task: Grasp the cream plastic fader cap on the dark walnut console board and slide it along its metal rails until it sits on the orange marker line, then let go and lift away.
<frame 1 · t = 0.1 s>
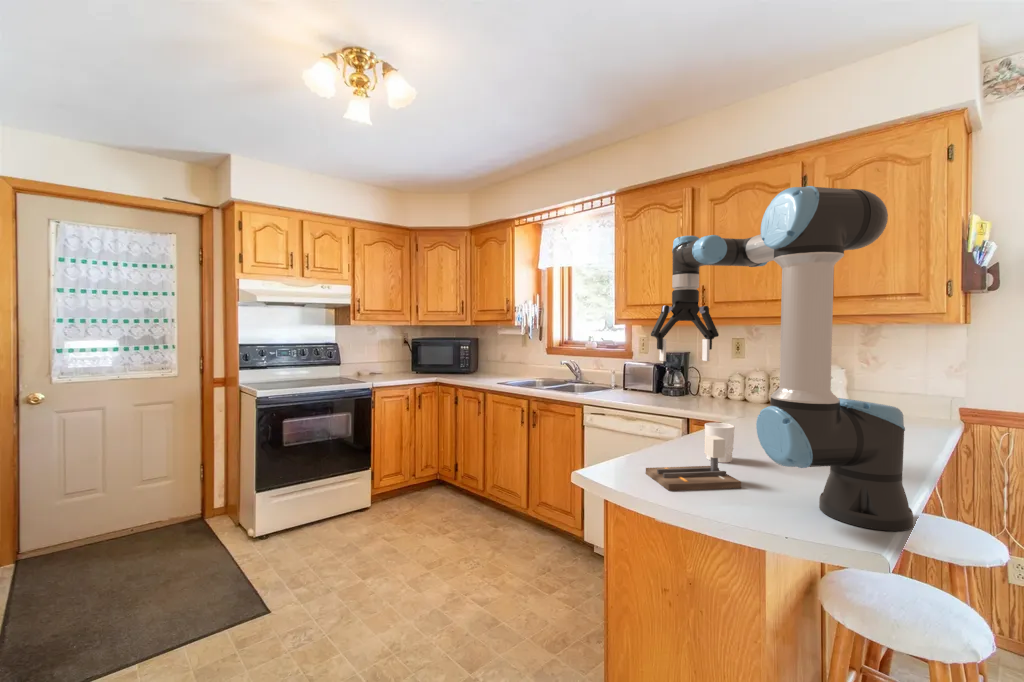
hand: (684, 360, 142), 28 cm above the countertop, fingers open, 13 cm apart
console board: (691, 480, 117), on the countertop
fader: (714, 454, 118), point 6 cm above the countertop, slide at 0.0 cm
white cup: (718, 460, 136), on the countertop
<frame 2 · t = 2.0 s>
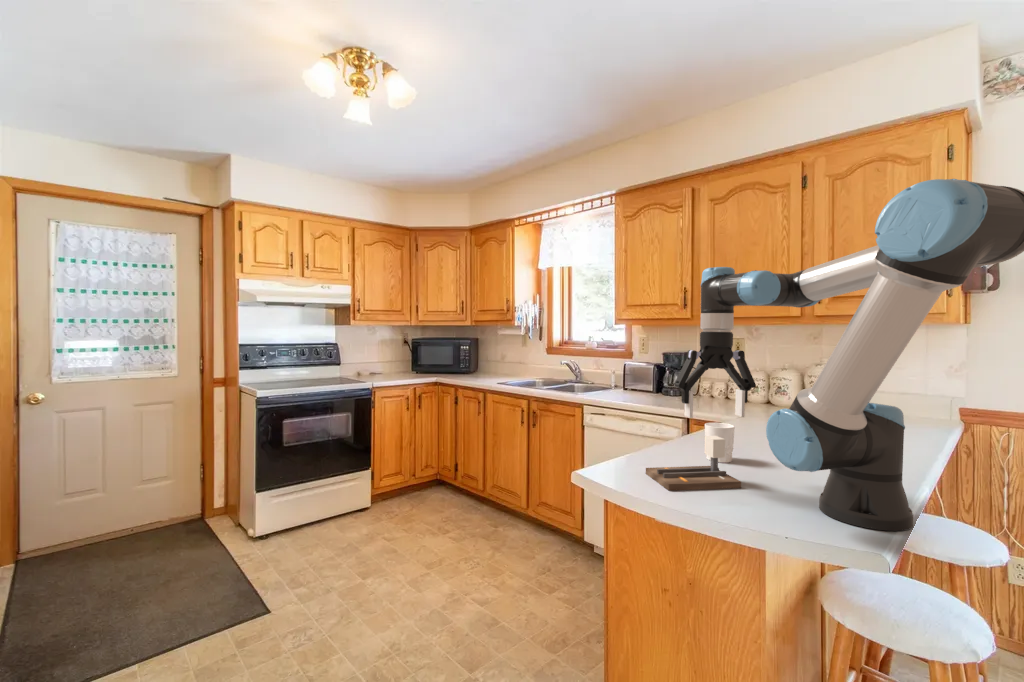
hand: (714, 416, 118), 16 cm above the countertop, fingers open, 13 cm apart
nothing on the countertop moved.
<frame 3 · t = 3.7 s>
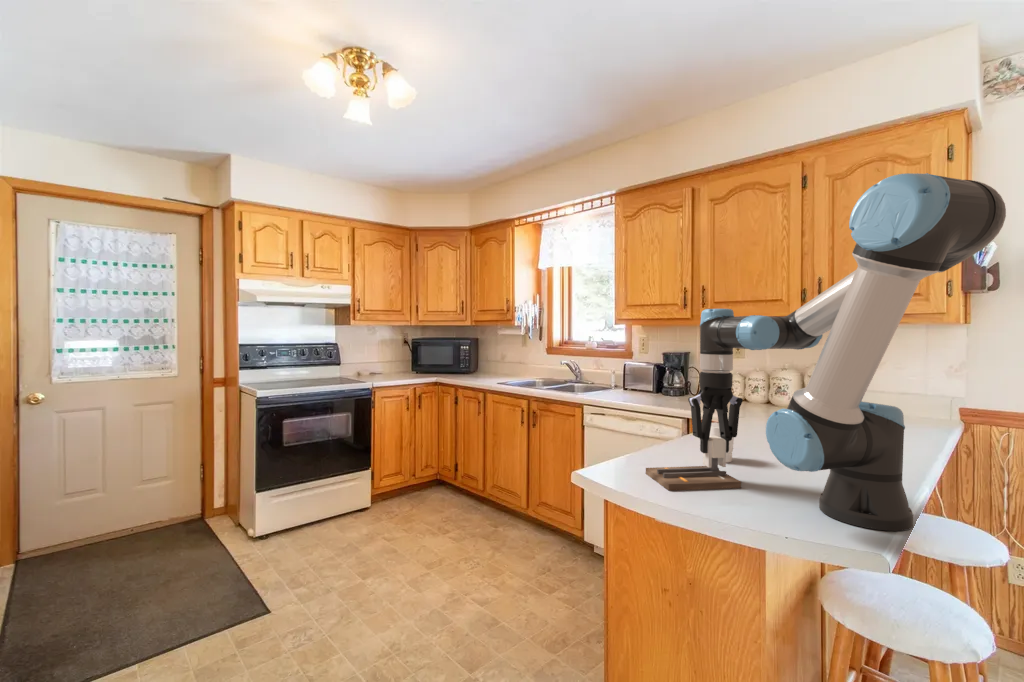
hand: (714, 465, 118), 4 cm above the countertop, fingers closed on fader, 3 cm apart
fader: (714, 454, 118), point 6 cm above the countertop, slide at 0.0 cm, touching gripper
everything else where it was.
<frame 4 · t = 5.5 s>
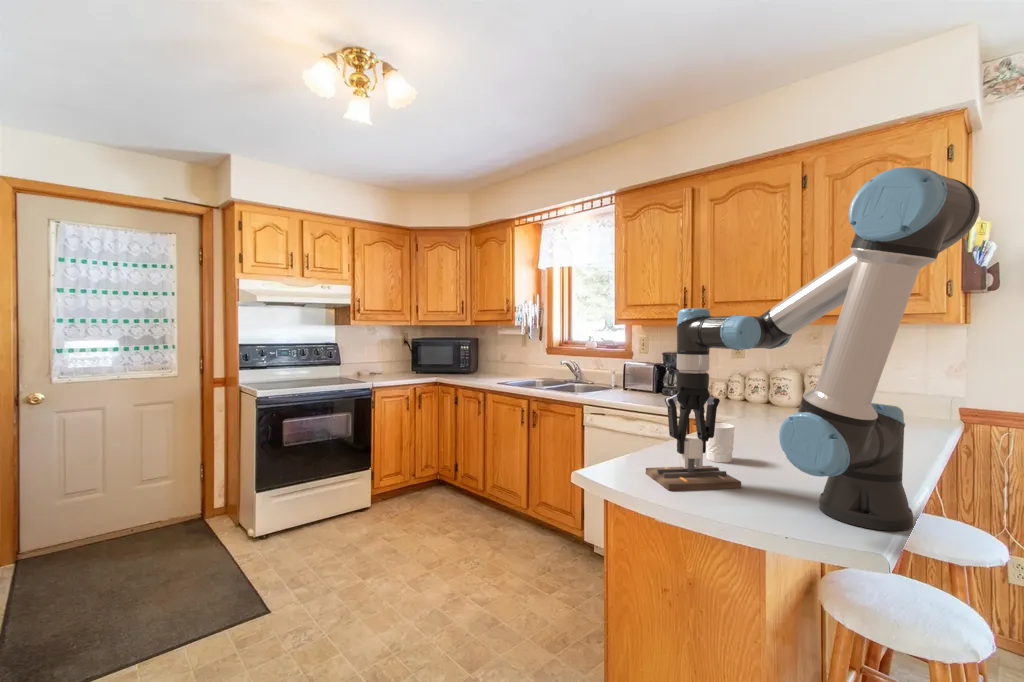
hand: (691, 466, 117), 4 cm above the countertop, fingers closed on fader, 3 cm apart
fader: (691, 455, 117), point 6 cm above the countertop, slide at 6.1 cm, touching gripper
everything else where it was.
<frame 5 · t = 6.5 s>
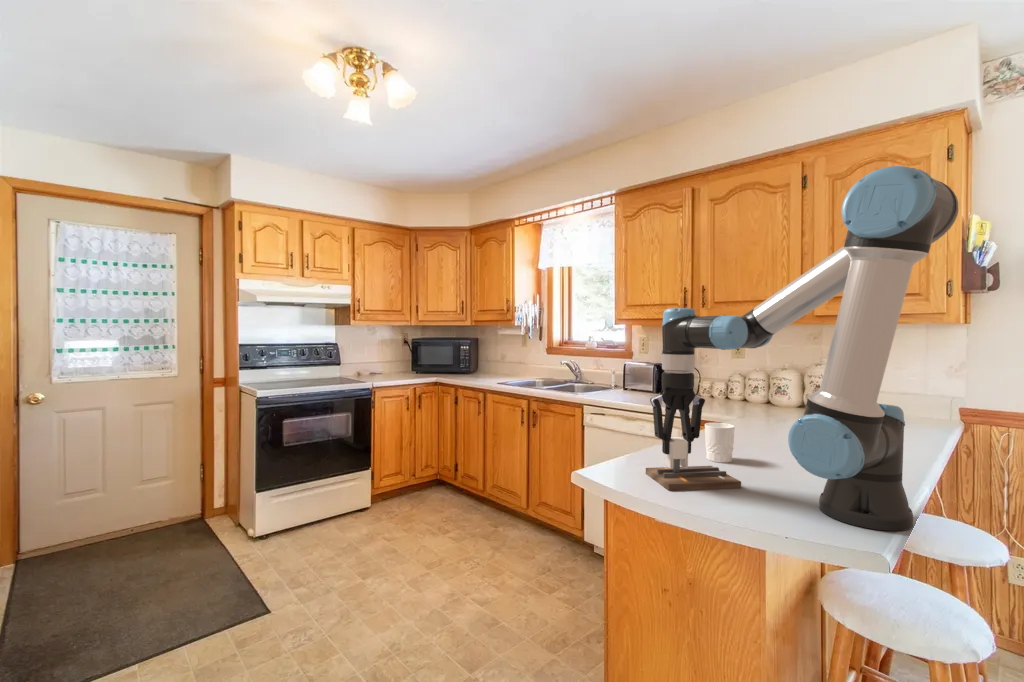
hand: (676, 466, 117), 4 cm above the countertop, fingers closed on fader, 3 cm apart
fader: (676, 455, 117), point 6 cm above the countertop, slide at 9.9 cm, touching gripper
everything else where it was.
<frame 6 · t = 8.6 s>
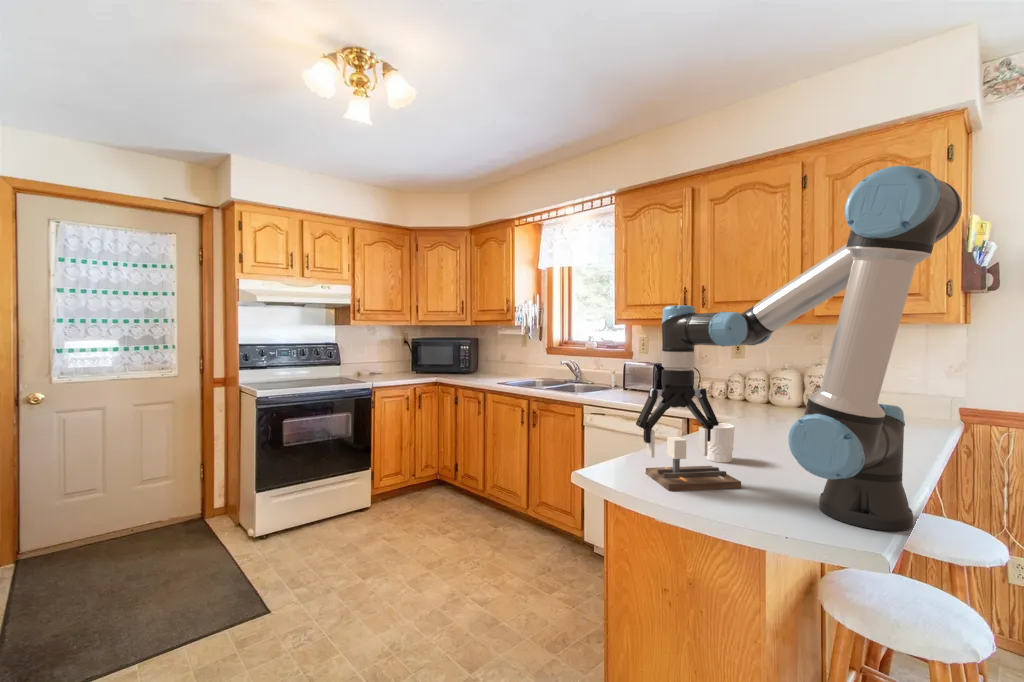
hand: (677, 455, 116), 6 cm above the countertop, fingers open, 13 cm apart
fader: (676, 455, 117), point 6 cm above the countertop, slide at 10.0 cm
everything else where it was.
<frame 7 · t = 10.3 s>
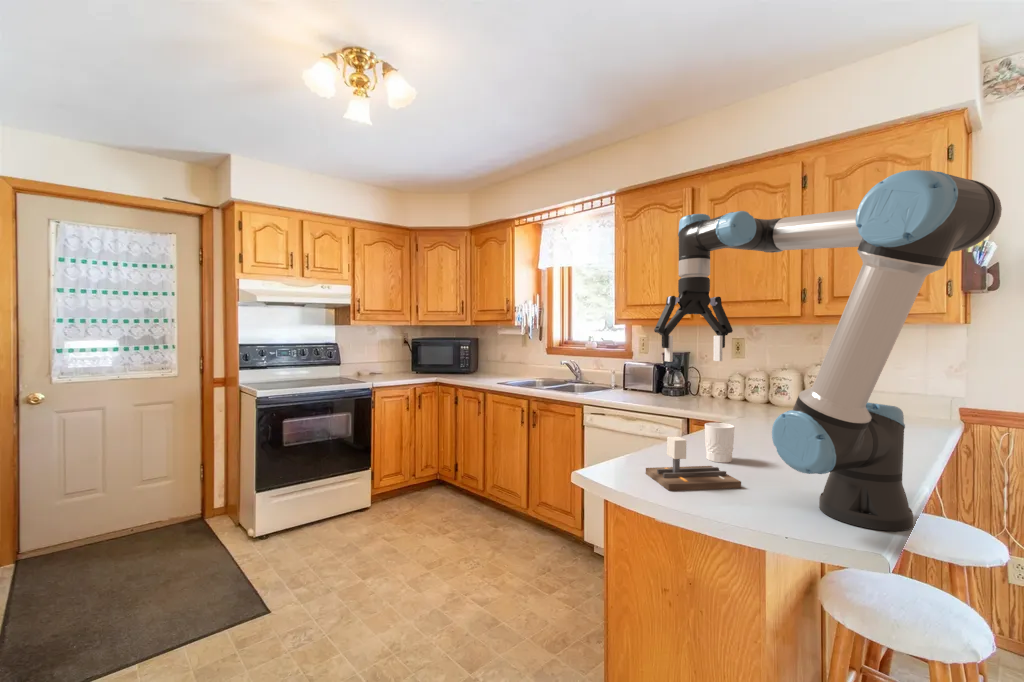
hand: (693, 361, 121), 29 cm above the countertop, fingers open, 13 cm apart
nothing on the countertop moved.
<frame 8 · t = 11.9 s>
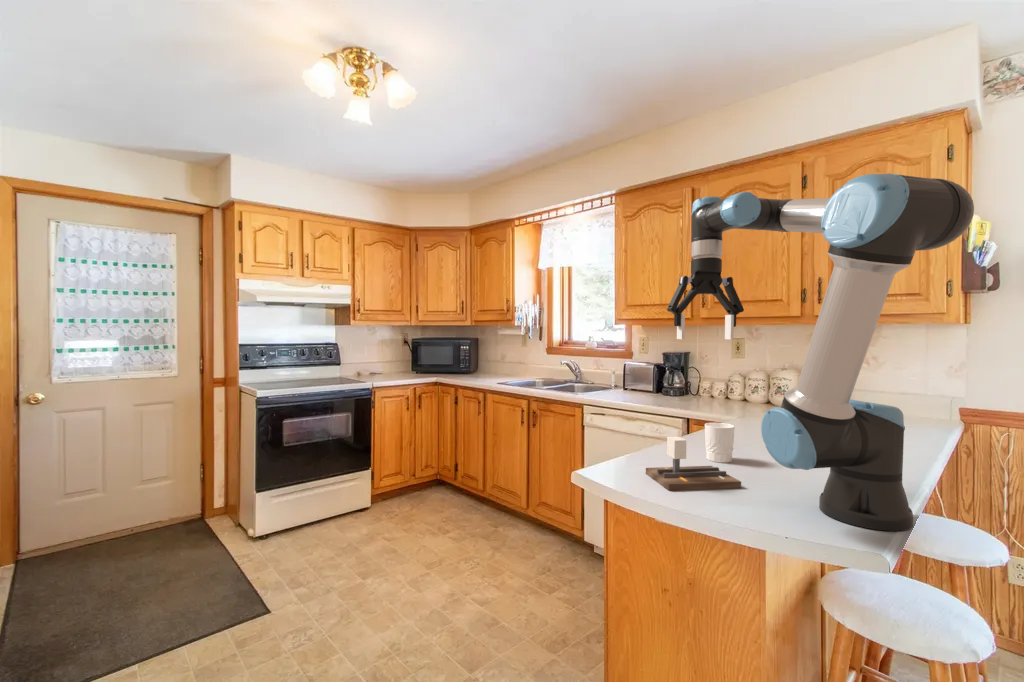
hand: (704, 339, 125), 35 cm above the countertop, fingers open, 13 cm apart
nothing on the countertop moved.
at the end: fader slide at 10.0 cm; the gripper is holding nothing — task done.
